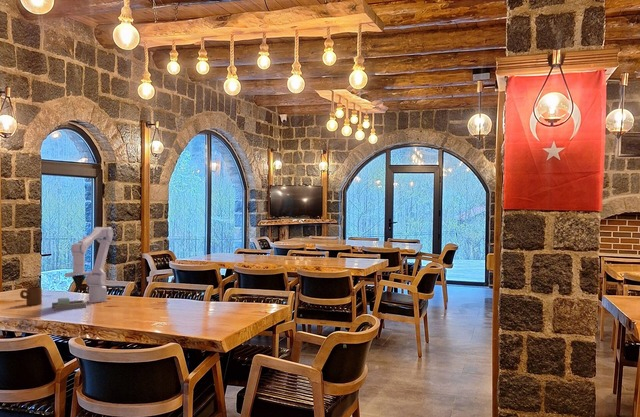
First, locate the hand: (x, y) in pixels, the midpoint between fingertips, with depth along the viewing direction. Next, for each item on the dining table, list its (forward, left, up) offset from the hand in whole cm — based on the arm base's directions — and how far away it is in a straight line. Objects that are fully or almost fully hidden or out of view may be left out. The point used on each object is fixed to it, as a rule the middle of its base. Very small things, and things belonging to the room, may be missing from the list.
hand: (78, 289), depth 297 cm
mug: (+21, -18, -10) cm, 30 cm away
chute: (+5, 0, -10) cm, 11 cm away
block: (+7, 0, -10) cm, 12 cm away
